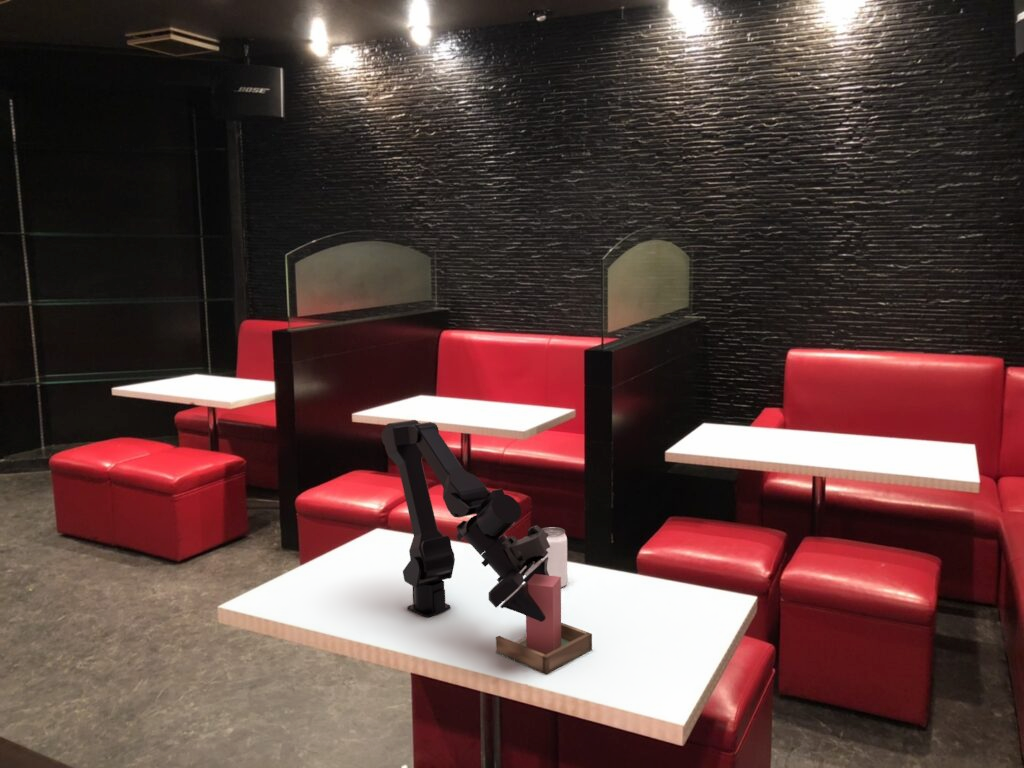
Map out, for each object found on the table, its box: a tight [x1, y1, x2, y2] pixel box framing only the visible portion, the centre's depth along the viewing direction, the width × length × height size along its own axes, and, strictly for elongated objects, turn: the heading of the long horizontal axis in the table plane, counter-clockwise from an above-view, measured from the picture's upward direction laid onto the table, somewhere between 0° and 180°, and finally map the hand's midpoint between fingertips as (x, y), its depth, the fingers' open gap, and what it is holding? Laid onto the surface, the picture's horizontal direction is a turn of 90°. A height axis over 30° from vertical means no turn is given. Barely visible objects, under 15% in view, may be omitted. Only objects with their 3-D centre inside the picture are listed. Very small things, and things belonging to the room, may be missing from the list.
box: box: [495, 622, 593, 675], centre depth 152 cm, size 12×13×3 cm
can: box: [541, 526, 568, 589], centre depth 184 cm, size 6×6×12 cm
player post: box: [525, 574, 562, 655], centre depth 152 cm, size 5×5×13 cm
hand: (551, 609), depth 151 cm, fingers open, 9 cm apart
